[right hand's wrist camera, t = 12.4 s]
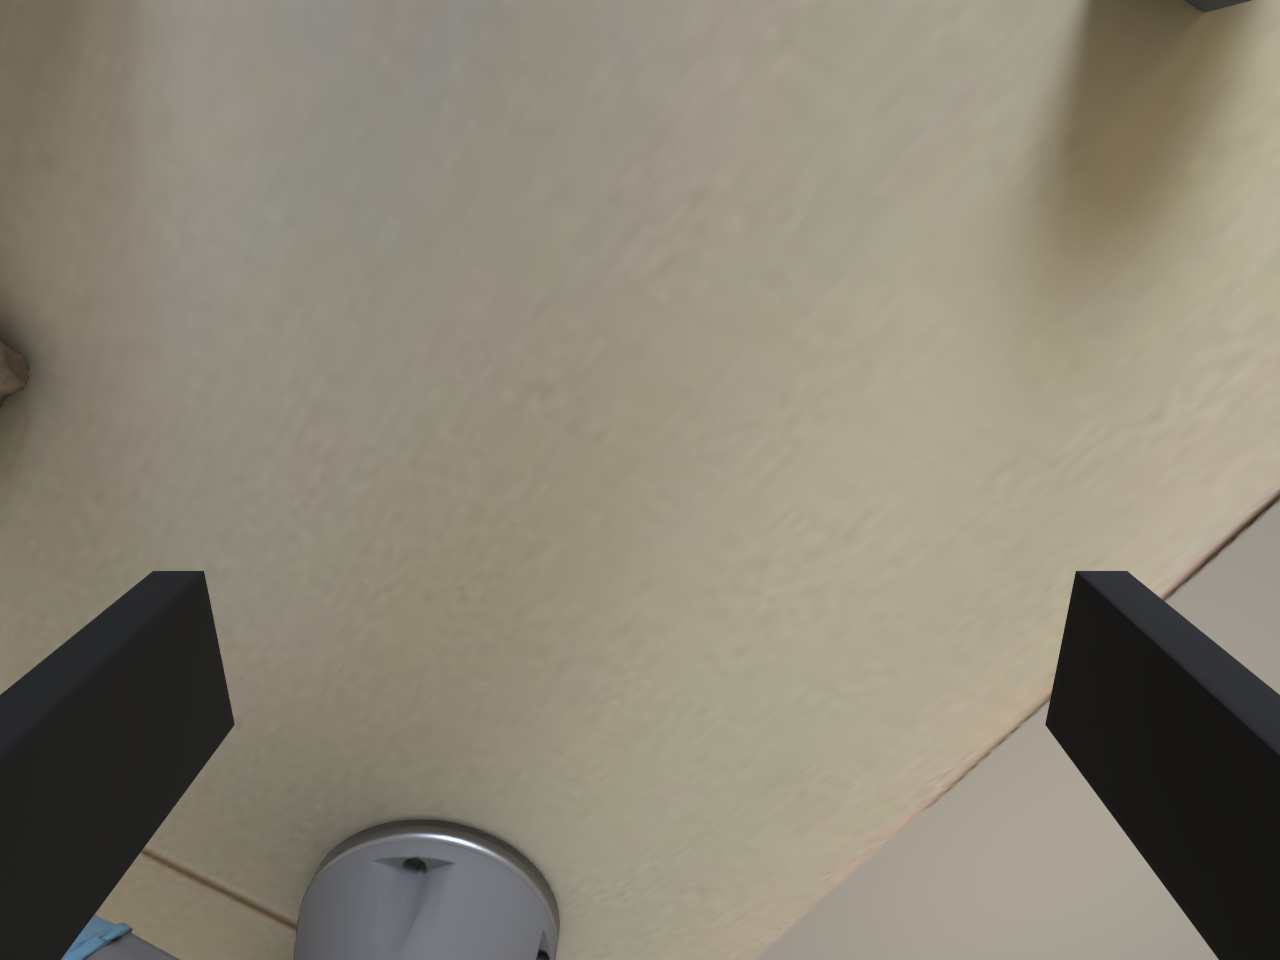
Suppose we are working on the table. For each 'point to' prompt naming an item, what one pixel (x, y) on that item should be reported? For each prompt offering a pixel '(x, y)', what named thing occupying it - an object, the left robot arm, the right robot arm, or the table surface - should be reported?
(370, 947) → the right robot arm
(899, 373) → the table surface
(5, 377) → the stone
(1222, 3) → the slate block
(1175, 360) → the table surface
